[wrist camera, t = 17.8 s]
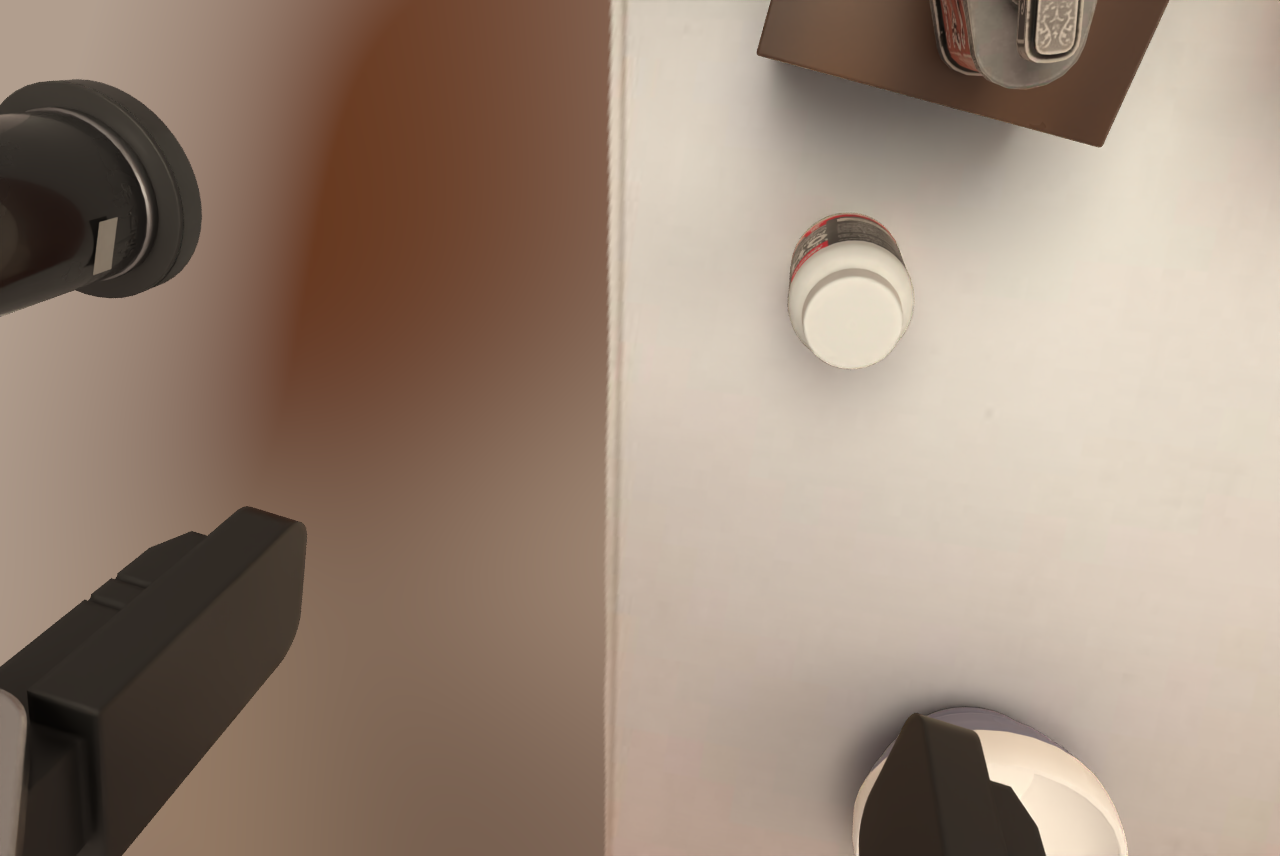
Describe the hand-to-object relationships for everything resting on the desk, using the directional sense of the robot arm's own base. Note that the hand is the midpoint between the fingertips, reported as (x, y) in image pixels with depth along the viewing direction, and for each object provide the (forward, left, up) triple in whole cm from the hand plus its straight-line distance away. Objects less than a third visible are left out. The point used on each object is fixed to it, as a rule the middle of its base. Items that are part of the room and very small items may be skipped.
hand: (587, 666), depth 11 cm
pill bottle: (+6, -2, -36) cm, 37 cm away
